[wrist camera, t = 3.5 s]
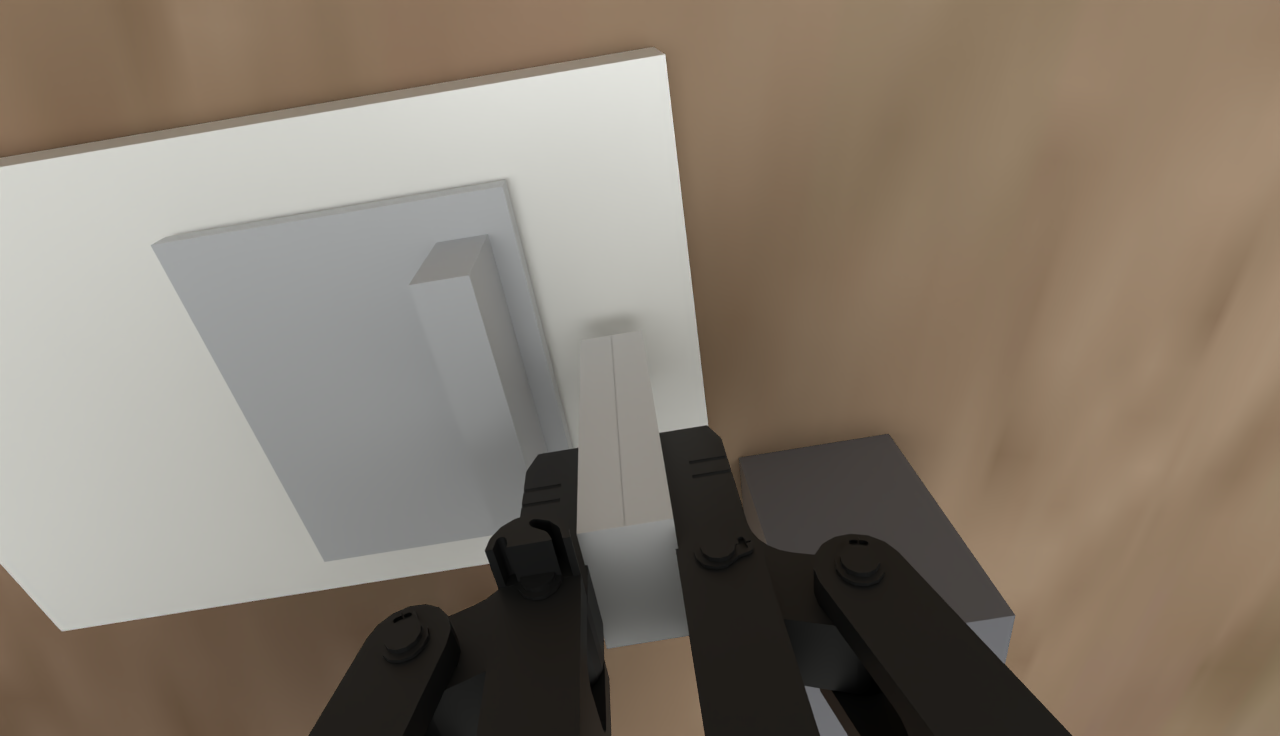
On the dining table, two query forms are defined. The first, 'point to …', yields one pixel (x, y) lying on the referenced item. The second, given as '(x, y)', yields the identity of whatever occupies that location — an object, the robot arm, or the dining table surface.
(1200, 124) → the dining table surface
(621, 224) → the faceplate
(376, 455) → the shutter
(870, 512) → the plug
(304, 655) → the dining table surface
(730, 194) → the dining table surface
